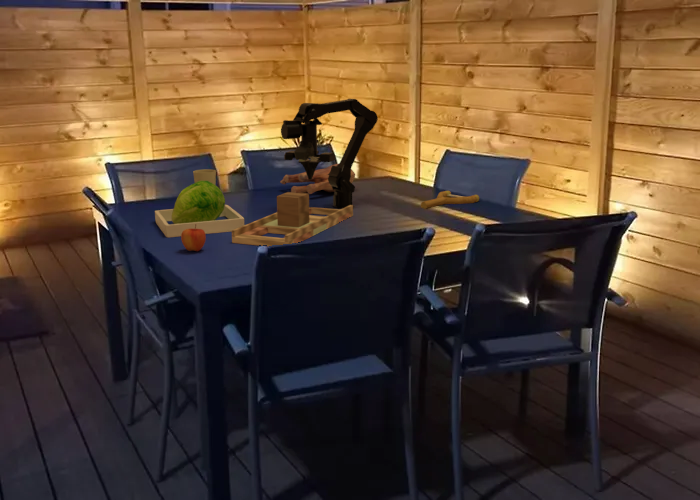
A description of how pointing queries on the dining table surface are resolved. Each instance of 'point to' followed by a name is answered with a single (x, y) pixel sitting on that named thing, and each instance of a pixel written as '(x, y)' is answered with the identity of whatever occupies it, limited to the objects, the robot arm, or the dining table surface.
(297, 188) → the sculpture
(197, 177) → the mug
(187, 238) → the apple
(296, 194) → the walnut block
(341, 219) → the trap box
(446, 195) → the slingshot
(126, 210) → the dining table surface
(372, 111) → the robot arm
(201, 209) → the lettuce
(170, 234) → the lettuce crate rim
